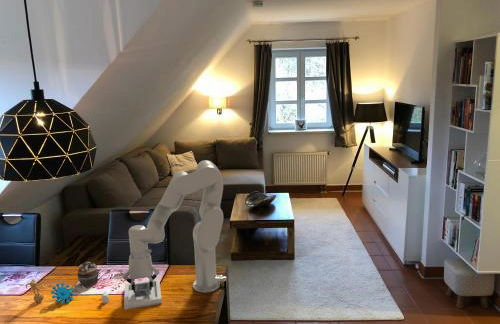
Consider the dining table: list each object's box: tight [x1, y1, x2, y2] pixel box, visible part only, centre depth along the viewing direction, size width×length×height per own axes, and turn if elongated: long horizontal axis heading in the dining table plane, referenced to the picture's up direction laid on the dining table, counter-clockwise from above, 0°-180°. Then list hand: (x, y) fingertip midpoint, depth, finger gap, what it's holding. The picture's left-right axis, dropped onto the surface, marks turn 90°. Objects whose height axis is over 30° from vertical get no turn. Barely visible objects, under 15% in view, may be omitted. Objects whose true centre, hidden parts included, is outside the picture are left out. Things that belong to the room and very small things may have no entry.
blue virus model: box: [50, 282, 75, 305], centre depth 179 cm, size 11×6×10 cm
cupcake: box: [77, 260, 99, 288], centre depth 192 cm, size 10×10×10 cm
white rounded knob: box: [101, 291, 110, 304], centre depth 177 cm, size 3×4×4 cm
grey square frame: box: [135, 282, 151, 297], centre depth 180 cm, size 7×8×3 cm
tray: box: [123, 278, 163, 310], centre depth 181 cm, size 16×18×2 cm
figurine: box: [25, 278, 45, 303], centre depth 176 cm, size 8×6×12 cm
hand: (142, 289), depth 180 cm, fingers closed on grey square frame, 6 cm apart
